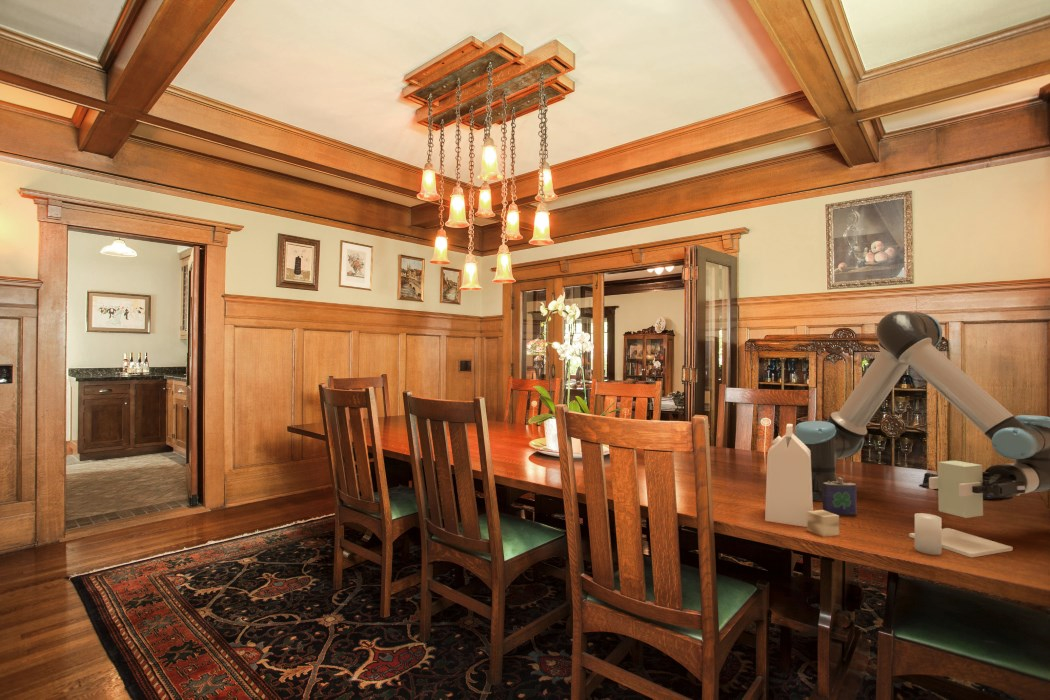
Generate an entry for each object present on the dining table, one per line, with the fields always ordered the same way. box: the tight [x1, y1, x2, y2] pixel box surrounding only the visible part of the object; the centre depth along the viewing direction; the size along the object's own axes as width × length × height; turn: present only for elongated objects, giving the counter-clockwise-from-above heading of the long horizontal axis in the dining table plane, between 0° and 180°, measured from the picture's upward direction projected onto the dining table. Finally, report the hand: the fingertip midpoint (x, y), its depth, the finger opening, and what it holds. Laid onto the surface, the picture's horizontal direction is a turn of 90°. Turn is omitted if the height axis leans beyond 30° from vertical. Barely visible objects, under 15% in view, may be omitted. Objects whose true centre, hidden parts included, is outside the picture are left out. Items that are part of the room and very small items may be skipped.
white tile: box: [908, 527, 1013, 559], centre depth 127 cm, size 14×14×1 cm
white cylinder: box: [914, 512, 943, 556], centre depth 123 cm, size 5×5×8 cm
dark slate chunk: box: [918, 472, 1014, 500], centre depth 175 cm, size 15×22×5 cm
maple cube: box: [807, 509, 840, 538], centre depth 135 cm, size 5×5×5 cm
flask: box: [822, 476, 858, 517], centre depth 149 cm, size 9×3×11 cm, turn 88°
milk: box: [764, 423, 814, 528], centre depth 147 cm, size 12×12×26 cm
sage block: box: [937, 460, 984, 519], centre depth 127 cm, size 6×6×12 cm
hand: (945, 486), depth 126 cm, fingers closed on sage block, 6 cm apart
